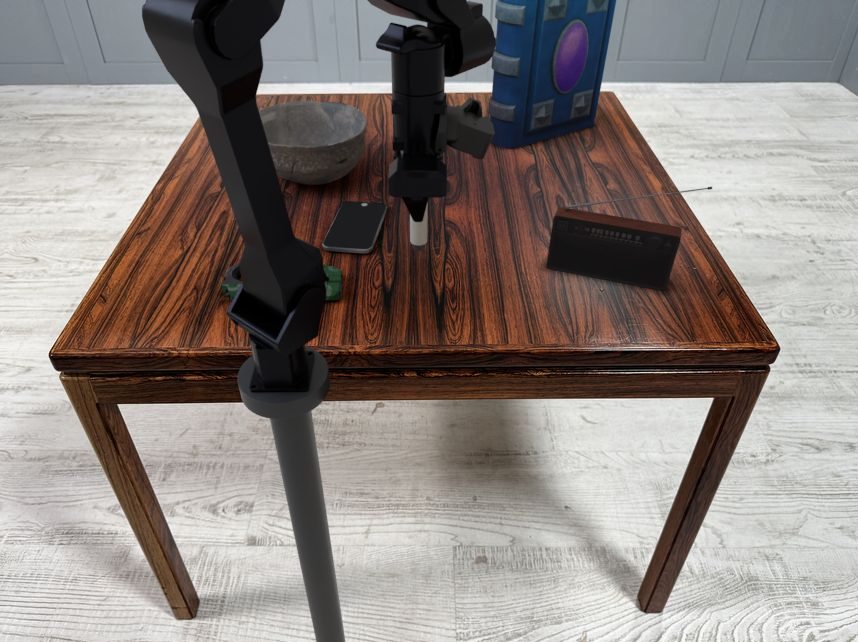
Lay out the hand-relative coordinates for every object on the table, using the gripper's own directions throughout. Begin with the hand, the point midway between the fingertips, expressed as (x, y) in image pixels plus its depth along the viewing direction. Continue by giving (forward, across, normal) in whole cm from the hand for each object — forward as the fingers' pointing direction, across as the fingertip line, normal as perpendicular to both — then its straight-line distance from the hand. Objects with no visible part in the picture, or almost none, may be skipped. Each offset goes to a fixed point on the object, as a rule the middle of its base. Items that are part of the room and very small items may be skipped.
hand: (418, 216), depth 81 cm
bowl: (+12, +37, +19) cm, 43 cm away
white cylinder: (+4, 0, 0) cm, 5 cm away
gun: (+12, +3, +18) cm, 22 cm away
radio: (+12, +5, -27) cm, 30 cm away
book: (+12, +57, -24) cm, 63 cm away
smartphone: (+12, +18, +10) cm, 24 cm away
